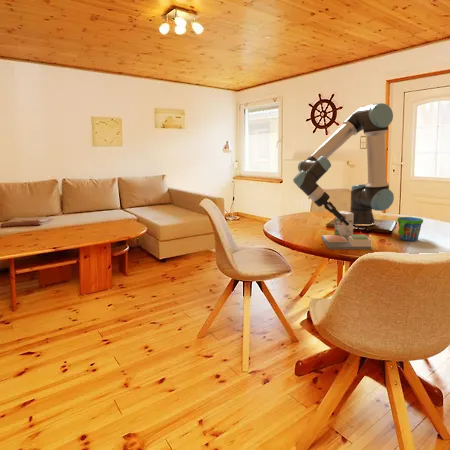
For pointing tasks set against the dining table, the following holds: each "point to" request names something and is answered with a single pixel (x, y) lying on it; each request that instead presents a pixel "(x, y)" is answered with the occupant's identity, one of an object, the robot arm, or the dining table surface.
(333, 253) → the dining table surface
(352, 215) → the ink box
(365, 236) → the button
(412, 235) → the snack cup
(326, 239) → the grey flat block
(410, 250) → the dining table surface
